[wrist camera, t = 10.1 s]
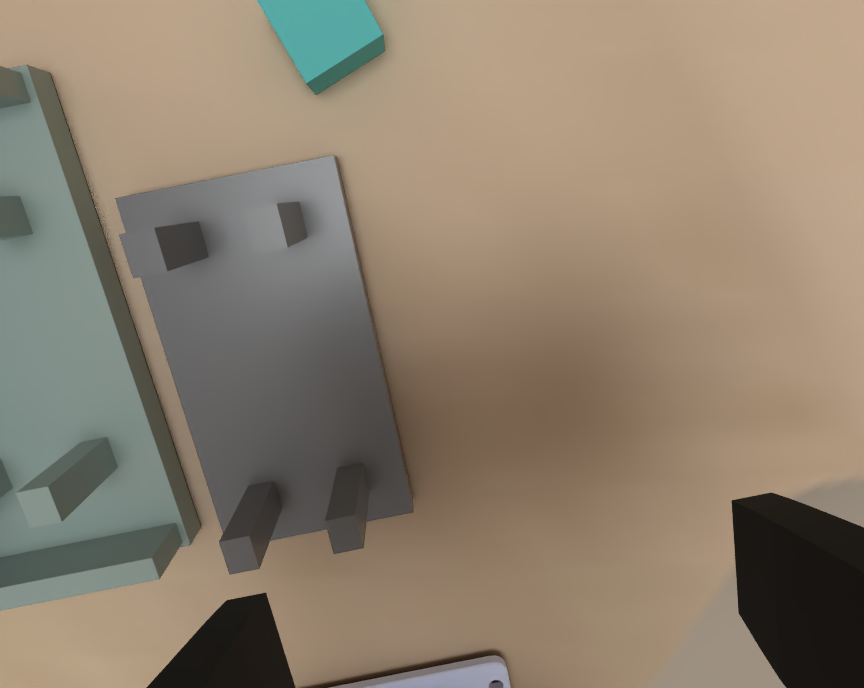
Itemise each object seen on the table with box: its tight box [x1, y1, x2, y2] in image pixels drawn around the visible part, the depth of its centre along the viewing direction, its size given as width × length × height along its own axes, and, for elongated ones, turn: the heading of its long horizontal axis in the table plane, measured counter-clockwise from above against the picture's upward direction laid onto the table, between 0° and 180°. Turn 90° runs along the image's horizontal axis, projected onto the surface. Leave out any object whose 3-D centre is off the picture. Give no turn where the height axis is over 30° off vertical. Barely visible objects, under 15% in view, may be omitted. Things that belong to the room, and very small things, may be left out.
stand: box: [115, 155, 413, 574], centre depth 16 cm, size 11×6×4 cm, turn 11°
